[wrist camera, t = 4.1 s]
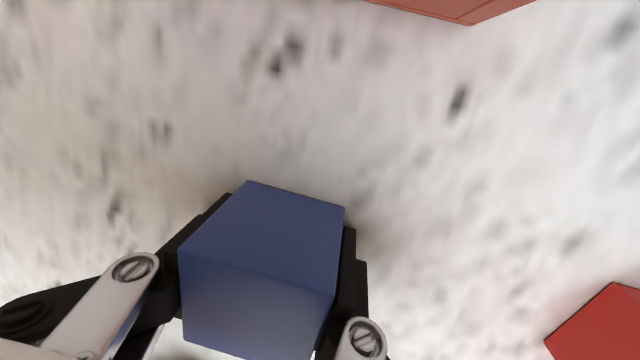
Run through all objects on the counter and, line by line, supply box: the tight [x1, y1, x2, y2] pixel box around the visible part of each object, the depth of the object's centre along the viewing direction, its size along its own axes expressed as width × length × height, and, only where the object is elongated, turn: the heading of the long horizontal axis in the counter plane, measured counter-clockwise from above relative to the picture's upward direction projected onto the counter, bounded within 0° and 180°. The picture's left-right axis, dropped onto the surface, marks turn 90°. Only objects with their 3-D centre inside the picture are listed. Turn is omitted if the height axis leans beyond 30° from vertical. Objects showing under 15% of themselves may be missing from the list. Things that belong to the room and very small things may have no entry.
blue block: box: [177, 181, 345, 360], centre depth 9 cm, size 4×4×4 cm
